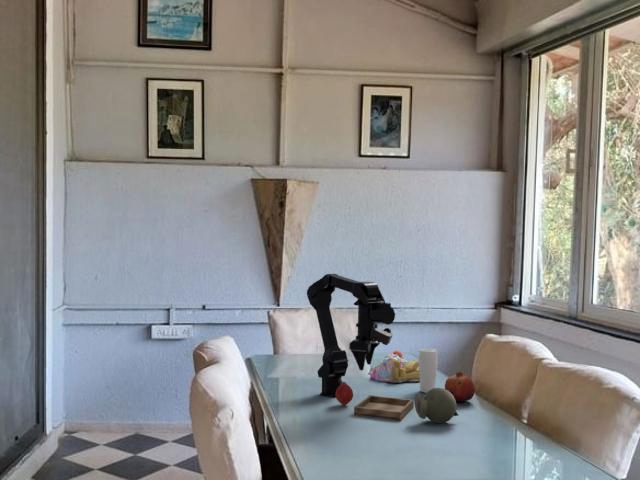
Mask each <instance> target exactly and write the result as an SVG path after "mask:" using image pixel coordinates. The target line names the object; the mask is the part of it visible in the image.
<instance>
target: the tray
mask: <svg viewBox="0 0 640 480" xmlns="http://www.w3.org/2000/svg"><path fill="white" fill-rule="evenodd" d="M414 402H415V399H408V398H399V397H398V398H397V397H390V396H379V395H373V394H372V395H371V394H369V395H368V396H367V397H365V398H364V399H362V400H361V401H360V402H359V403H358V404H356V405H355V406H354V407H353V416H357V417H358V416H359V417H367V418H376V419H381V420H383V419H384V420H390V421H398V422H400V421H401V422H402V420H403V419H404V418H405V417H406V416H407V415H408V414H409V413H410V412H411V411H412V410H413V409H414Z"/></svg>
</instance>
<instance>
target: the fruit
mask: <svg viewBox="0 0 640 480" xmlns="http://www.w3.org/2000/svg"><path fill="white" fill-rule="evenodd" d="M475 388H476V387H475V384H474V380H473V379H472V378H471V377H470V376H468V375H464V374H463V371H459V372H456V373H455V374H452V375H450V376H449V377H448V378H447V379H446V381H445V382H444V389H446V390H448V391H449V390H453V391H454V393H453V394H452V395H453V396H454V398H455V401H456V402H459V403H461V402H462V403H463V402H464V403H465V402H468V401H470V400H472V398H473V397H474V395H475V391H476V389H475Z"/></svg>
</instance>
